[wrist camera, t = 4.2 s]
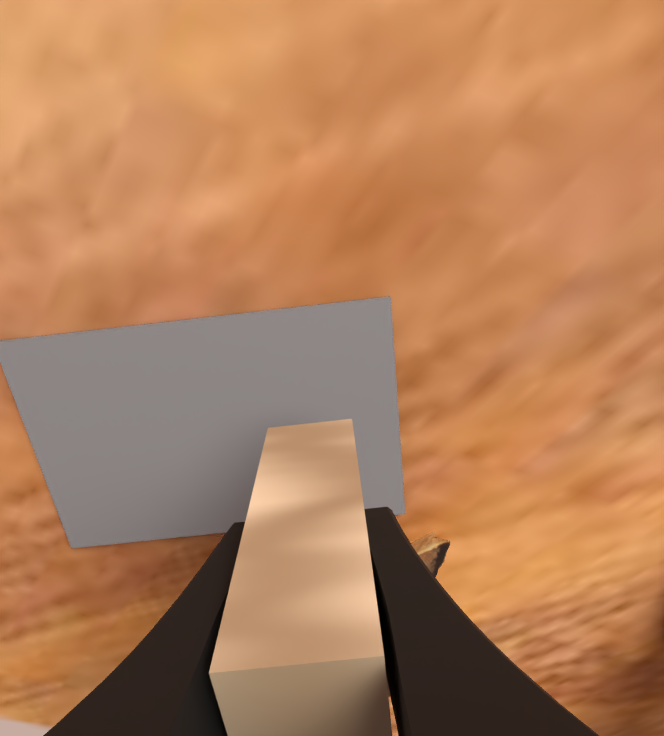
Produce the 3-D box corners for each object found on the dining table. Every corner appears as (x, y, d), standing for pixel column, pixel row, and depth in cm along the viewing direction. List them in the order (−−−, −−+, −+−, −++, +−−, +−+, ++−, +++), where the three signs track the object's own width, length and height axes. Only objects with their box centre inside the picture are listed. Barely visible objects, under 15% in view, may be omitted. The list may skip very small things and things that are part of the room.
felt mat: (389, 296, 16) (390, 297, 15) (404, 509, 19) (405, 514, 18) (-2, 340, 16) (-8, 342, 16) (75, 543, 19) (71, 548, 19)
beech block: (352, 418, 13) (384, 655, 6) (365, 544, 14) (402, 840, 8) (265, 427, 13) (204, 674, 6) (289, 552, 14) (259, 854, 8)
